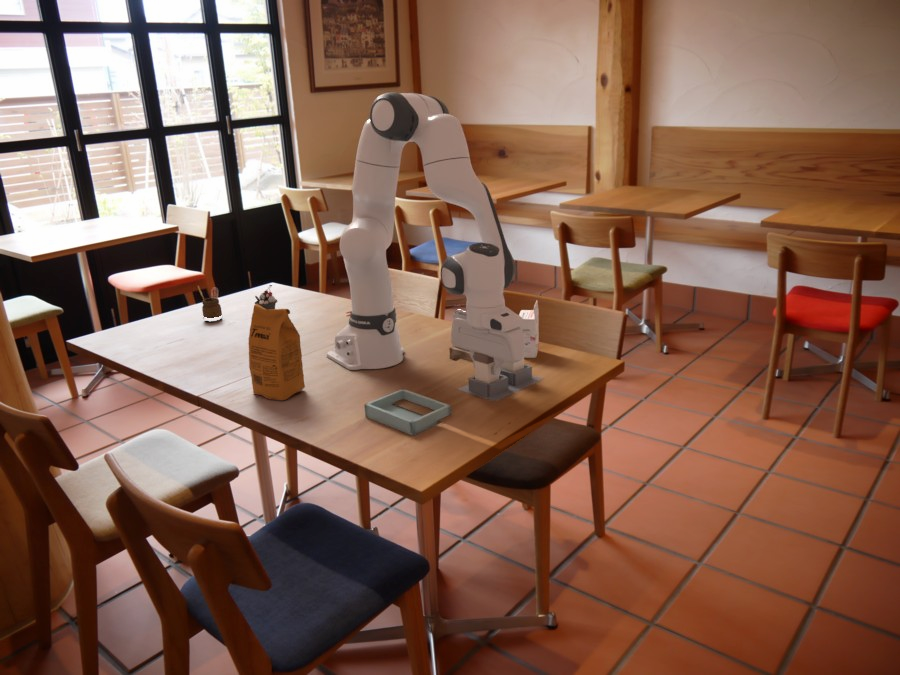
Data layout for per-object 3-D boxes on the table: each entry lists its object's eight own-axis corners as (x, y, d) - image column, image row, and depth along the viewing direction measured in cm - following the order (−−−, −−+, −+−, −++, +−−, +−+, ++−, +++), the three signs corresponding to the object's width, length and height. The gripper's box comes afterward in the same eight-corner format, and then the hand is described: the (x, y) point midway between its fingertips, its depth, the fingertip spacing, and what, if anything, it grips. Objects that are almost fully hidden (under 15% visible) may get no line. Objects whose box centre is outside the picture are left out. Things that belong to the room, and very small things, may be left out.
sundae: (285, 331, 231) (280, 284, 226) (269, 337, 225) (264, 289, 221) (270, 328, 234) (264, 282, 229) (254, 334, 229) (248, 287, 224)
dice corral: (449, 358, 201) (449, 347, 200) (472, 349, 207) (471, 339, 206) (474, 365, 195) (474, 354, 194) (496, 356, 201) (496, 345, 200)
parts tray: (365, 416, 167) (364, 404, 166) (403, 400, 174) (402, 388, 173) (412, 435, 156) (412, 422, 155) (451, 417, 164) (450, 405, 163)
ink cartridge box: (521, 350, 205) (520, 298, 200) (539, 350, 204) (538, 299, 199) (517, 360, 197) (516, 307, 192) (536, 361, 196) (535, 307, 191)
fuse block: (457, 393, 177) (456, 377, 176) (505, 371, 189) (505, 356, 188) (495, 405, 169) (495, 389, 168) (543, 382, 181) (543, 367, 180)
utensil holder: (222, 321, 244) (217, 286, 240) (202, 323, 242) (196, 288, 239) (223, 316, 249) (218, 282, 245) (203, 318, 248) (198, 283, 244)
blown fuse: (475, 388, 176) (474, 352, 173) (486, 383, 179) (485, 347, 176) (488, 392, 173) (487, 356, 170) (499, 387, 176) (498, 351, 173)
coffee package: (276, 381, 190) (266, 298, 183) (311, 390, 183) (302, 304, 176) (246, 394, 182) (234, 308, 175) (281, 404, 175) (270, 315, 168)
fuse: (500, 379, 182) (500, 344, 179) (511, 374, 185) (511, 340, 182) (513, 382, 179) (513, 347, 177) (524, 377, 182) (524, 343, 179)
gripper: (444, 310, 175) (446, 365, 179) (510, 326, 161) (511, 385, 166) (462, 304, 179) (464, 358, 184) (528, 319, 166) (529, 377, 170)
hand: (487, 371), depth 175 cm, fingers closed on blown fuse, 4 cm apart
